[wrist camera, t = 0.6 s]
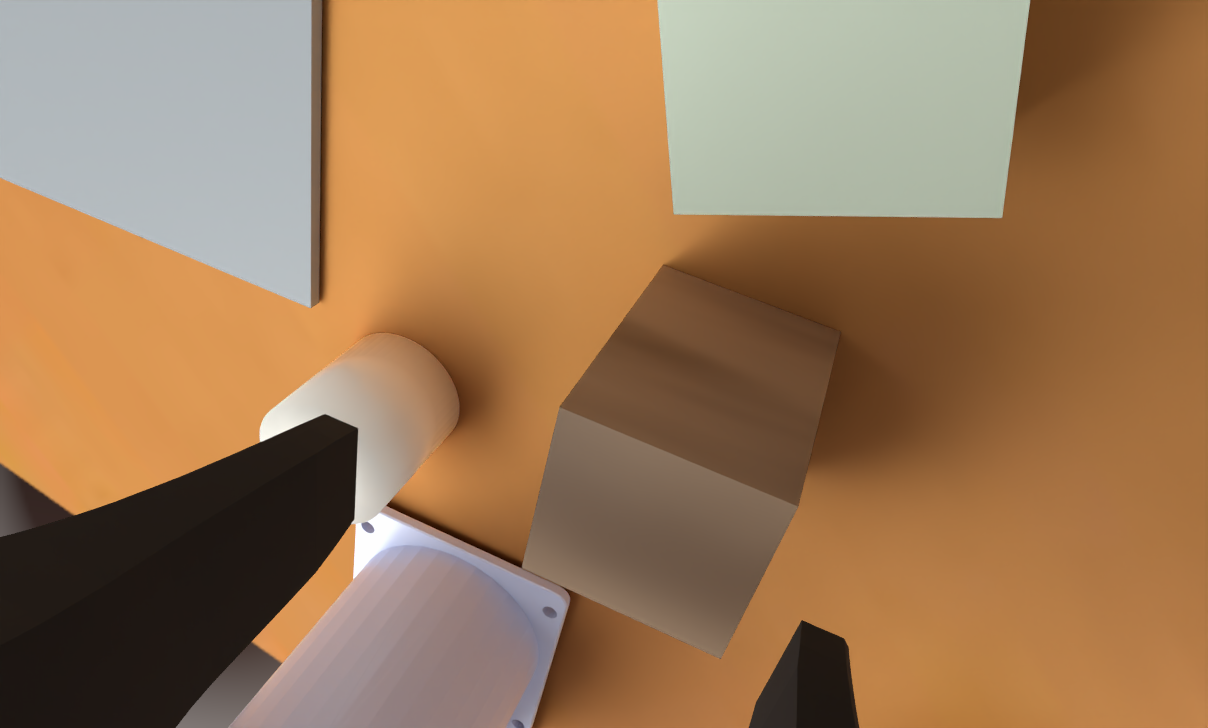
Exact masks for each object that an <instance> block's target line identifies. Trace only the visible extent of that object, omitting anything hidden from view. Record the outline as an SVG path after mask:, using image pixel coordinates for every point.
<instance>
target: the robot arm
mask: <svg viewBox="0 0 1208 728" xmlns="http://www.w3.org/2000/svg"><path fill="white" fill-rule="evenodd" d="M357 447H358V428H357V427H354V426H352V425H350V424H347V423H345V422H343V421H340V420H338V419H336V418H333V417H331V416H329V415H327V414H323V415H321V416H319V417H316V418H314V419H312V420H309V421H307V422H305V423H303V424H300V425H298V426H296V427H293V428H291V429H289V430H287V431H284V432H282V433H280V434H278V435H275V436H273V437H271V438H269V439H266V440H264V441H262V442H260V443H258V444H255V445H253V446H251V447H248V448H246V449H244V450H242V451H239V452H237V453H235V454H233V455H230V456H228V457H226V458H223V459H221V460H219V461H216V462H214V463H212V464H209V465H207V466H205V467H202V468H200V469H198V470H195V471H193V472H190V473H188V474H186V475H183V476H181V477H179V478H176V479H173V480H171V481H168V482H166V483H163V484H160V485H158V486H155V487H153V488H150V489H147V490H145V491H142V492H139V493H137V494H134V495H132V496H129V497H126V498H124V499H121V500H119V501H116V502H113V503H110V504H108V505H105V506H102V507H99V508H96V509H93V510H90V511H87V512H84V513H81V514H78V515H75V516H72V517H68V518H65V519H62V520H59V521H55V522H52V523H49V524H46V525H42V526H39V527H36V528H32V529H29V530H26V531H22V532H19V533H15V534H11V535H7V536H3V537H0V728H176V726H177V725H178V724H179V722H180V721H181V720H182V719H183V717H184V716H185V715H186V713H187V712H188V711H189V710H190V708H191V707H192V706H193V705H194V704H195V702H196V701H197V700H198V699H199V698H200V697H201V696H202V694H203V693H204V692H205V691H206V690H207V688H209V686H210V685H211V684H212V683H213V682H214V681H215V680H216V678H218V676H219V675H220V674H221V673H222V672H223V671H224V670H225V669H226V668H227V667H228V666H229V665H230V664H231V663H232V662H233V660H235V658H236V657H237V656H238V655H239V654H240V653H241V652H242V651H243V650H244V649H245V648H246V647H247V646H248V645H249V644H250V643H251V641H252V640H253V639H254V638H255V637H256V636H257V635H258V634H259V633H260V632H261V631H262V630H263V629H264V628H265V627H266V626H267V624H268V623H269V622H270V621H271V620H272V619H273V618H274V617H275V616H276V615H277V614H278V613H279V612H280V611H281V610H282V608H283V607H284V606H285V605H286V604H287V603H288V602H289V601H290V600H291V599H292V598H293V597H294V596H295V594H296V593H297V592H298V591H299V590H300V589H301V588H302V587H303V586H304V585H305V584H306V583H307V581H308V580H309V579H310V578H311V577H312V576H313V575H314V574H315V573H316V571H317V570H318V569H319V567H320V566H321V565H322V563H323V562H324V561H325V559H326V558H327V557H328V555H329V554H330V553H331V551H332V550H333V549H334V547H335V546H336V545H337V543H338V542H339V540H340V539H341V538H342V536H343V535H344V533H345V532H346V530H347V529H348V528H349V526H350V525H351V523H352V522H353V521H354V519H355V496H356V471H357ZM569 604H570V596H569V594H568V592H567V591H566V590H565V589H564V588H562V587H560V586H559V585H556V584H554V583H552V582H550V581H548V580H546V579H543V578H541V577H539V576H537V575H535V574H533V573H530V572H528V571H526V570H524V569H522V568H520V567H517V566H515V565H513V564H511V563H509V562H507V561H504V560H502V559H500V558H498V557H496V556H494V555H491V554H489V553H487V552H485V551H483V550H480V549H478V548H476V547H474V546H472V545H470V544H467V543H465V542H463V541H461V540H459V539H457V538H454V537H452V536H450V535H448V534H446V533H444V532H441V531H439V530H437V529H435V528H433V527H431V526H428V525H426V524H424V523H422V522H420V521H418V520H415V519H413V518H411V517H409V516H407V515H404V514H402V513H400V512H398V511H396V510H394V509H391V508H389V507H387V506H385V507H384V508H383V509H382V510H381V512H380V513H379V514H378V515H377V516H376V517H374V518H373V519H371V520H370V521H367V522H364V523H360V524H356V536H355V555H354V575H353V581H352V582H351V583H350V584H349V585H348V586H347V588H346V589H345V590H344V591H343V592H342V594H341V595H340V596H339V597H338V598H337V599H336V601H335V602H334V603H333V604H332V605H331V607H330V608H329V609H328V610H327V611H326V612H325V614H324V615H323V616H322V617H321V618H320V620H319V621H318V622H317V623H316V624H315V625H314V627H313V628H312V629H311V630H310V631H309V633H308V634H307V635H306V636H305V637H304V638H303V640H302V641H301V642H300V643H299V644H298V646H297V647H296V648H295V649H294V650H293V652H292V653H291V654H290V655H289V656H288V657H287V659H286V660H285V661H284V662H283V663H282V665H281V666H280V667H279V668H278V669H277V670H276V672H275V673H274V674H273V675H272V676H271V678H270V679H269V680H268V681H267V682H266V684H265V685H264V686H263V687H262V688H261V689H260V691H259V692H258V693H257V694H256V695H255V697H254V698H253V699H252V700H251V701H250V703H249V704H248V705H247V706H246V707H245V708H244V709H243V711H242V712H241V713H240V714H239V715H238V717H237V718H236V719H235V720H234V721H233V722H232V724H231V725H230V726H229V727H228V728H532V726H533V723H534V720H535V716H536V713H537V710H538V706H539V703H540V700H541V696H542V693H543V690H544V687H545V683H546V680H547V677H548V673H549V670H550V667H551V663H552V660H553V657H554V653H555V650H556V647H557V644H558V640H559V637H560V634H561V630H562V627H563V624H564V620H565V617H566V614H567V610H568V607H569ZM749 728H859V724H858V718H857V712H856V706H855V699H854V692H853V685H852V677H851V669H850V659H849V648H848V645H847V643H846V641H845V639H844V638H842V637H839V636H837V635H835V634H832V633H830V632H828V631H825V630H823V629H821V628H818V627H816V626H814V625H812V624H809V623H807V622H805V621H801V623H800V625H799V626H798V628H797V630H796V632H795V634H794V635H793V637H792V639H791V641H790V643H789V644H788V646H787V648H786V650H785V652H784V653H783V655H782V657H781V659H780V661H779V662H778V664H777V666H776V668H775V670H774V671H773V673H772V675H771V677H770V679H769V680H768V682H767V684H766V686H765V687H764V689H763V691H762V693H761V695H760V696H759V698H758V700H757V702H756V705H755V708H754V712H753V715H752V719H751V722H750V726H749Z"/></svg>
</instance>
